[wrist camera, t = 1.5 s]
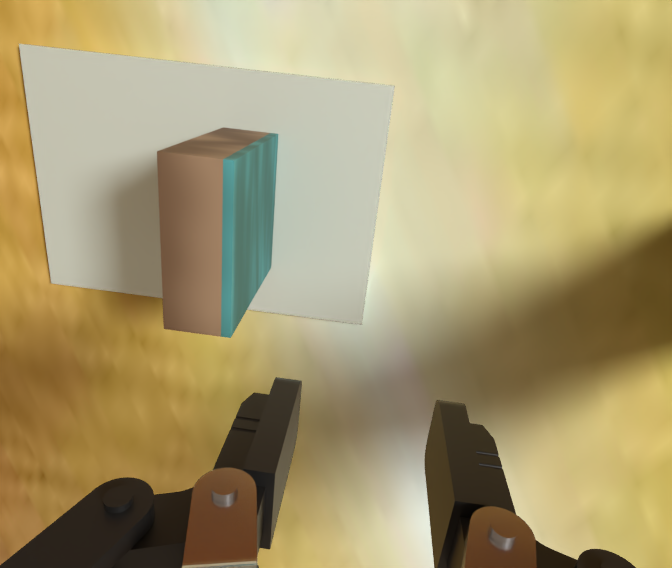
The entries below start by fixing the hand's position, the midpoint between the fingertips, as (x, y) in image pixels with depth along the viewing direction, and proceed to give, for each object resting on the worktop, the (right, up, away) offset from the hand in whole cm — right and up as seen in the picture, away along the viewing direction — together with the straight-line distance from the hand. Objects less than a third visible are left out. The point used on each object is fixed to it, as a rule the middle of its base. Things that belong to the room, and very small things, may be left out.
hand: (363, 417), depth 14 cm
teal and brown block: (-7, +9, +19) cm, 22 cm away
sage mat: (-9, +10, +20) cm, 24 cm away
